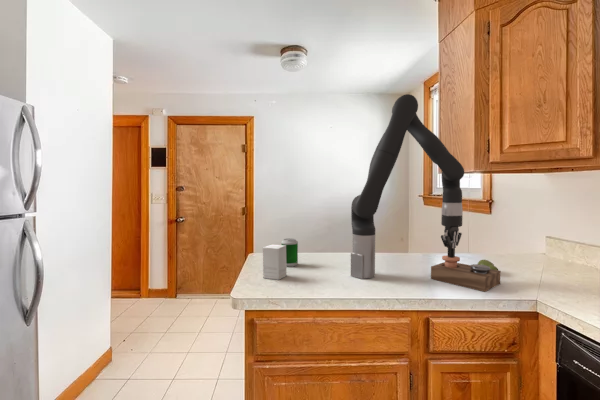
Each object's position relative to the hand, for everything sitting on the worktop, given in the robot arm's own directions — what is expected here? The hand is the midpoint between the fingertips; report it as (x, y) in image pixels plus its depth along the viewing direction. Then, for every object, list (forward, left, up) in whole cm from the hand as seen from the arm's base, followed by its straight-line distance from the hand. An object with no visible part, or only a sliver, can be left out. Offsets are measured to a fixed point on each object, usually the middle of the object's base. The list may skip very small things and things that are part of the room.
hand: (451, 257), depth 129 cm
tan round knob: (0, 0, -5) cm, 5 cm away
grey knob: (0, -11, -7) cm, 13 cm away
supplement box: (-53, +47, -9) cm, 71 cm away
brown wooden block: (0, -5, -9) cm, 10 cm away
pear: (+19, -7, -9) cm, 22 cm away
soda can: (-37, +58, -9) cm, 69 cm away
